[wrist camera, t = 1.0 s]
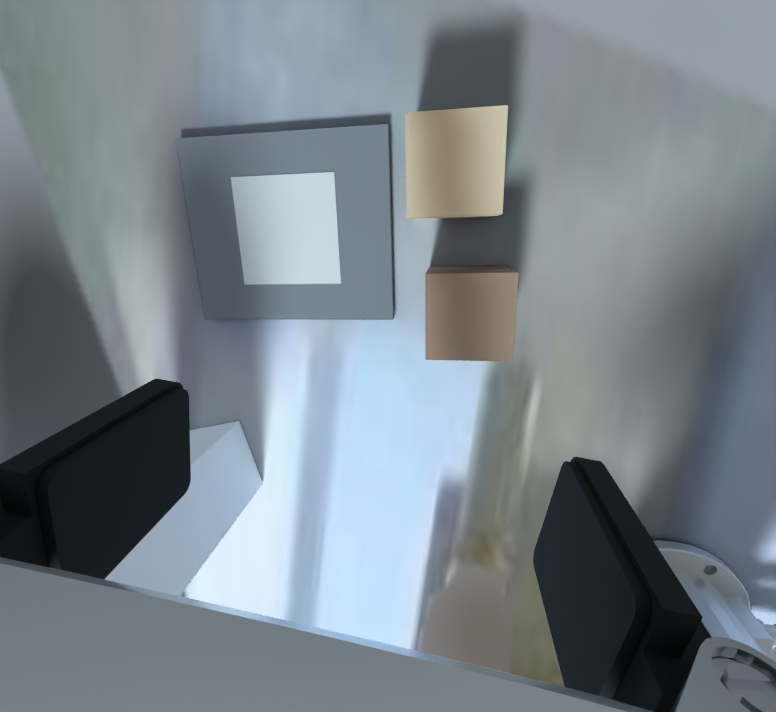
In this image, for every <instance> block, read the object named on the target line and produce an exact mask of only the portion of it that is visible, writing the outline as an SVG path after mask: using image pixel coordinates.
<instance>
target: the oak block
mask: <svg viewBox="0 0 776 712" xmlns="http://www.w3.org/2000/svg"><path fill="white" fill-rule="evenodd" d="M507 116H508V105H501V106H488V107H474V108H460V109H447V110H433V111H419V112H405V130H406V198H407V218H411V219H445V218H474V217H495V216H498V215H502V214H503V197H504V177H505V157H506V137H507Z"/></svg>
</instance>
